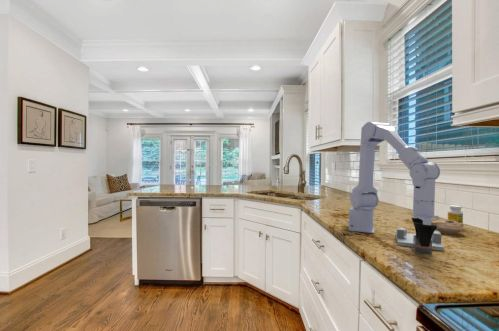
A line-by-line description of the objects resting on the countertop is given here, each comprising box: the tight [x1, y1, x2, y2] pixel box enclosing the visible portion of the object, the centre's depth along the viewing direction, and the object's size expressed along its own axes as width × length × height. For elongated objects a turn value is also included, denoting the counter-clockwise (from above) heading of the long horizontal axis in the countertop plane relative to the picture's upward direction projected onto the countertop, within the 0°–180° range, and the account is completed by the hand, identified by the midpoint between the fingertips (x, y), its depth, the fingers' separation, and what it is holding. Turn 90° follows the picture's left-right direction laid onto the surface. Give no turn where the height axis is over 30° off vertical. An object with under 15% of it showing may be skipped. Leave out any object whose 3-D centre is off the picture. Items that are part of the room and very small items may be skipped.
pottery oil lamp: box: [431, 219, 466, 235], centre depth 111 cm, size 9×12×7 cm
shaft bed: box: [395, 226, 445, 252], centre depth 97 cm, size 13×14×4 cm
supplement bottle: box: [447, 204, 464, 224], centre depth 120 cm, size 5×5×10 cm
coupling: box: [412, 235, 433, 256], centre depth 88 cm, size 5×5×4 cm
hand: (422, 243), depth 88 cm, fingers open, 7 cm apart
